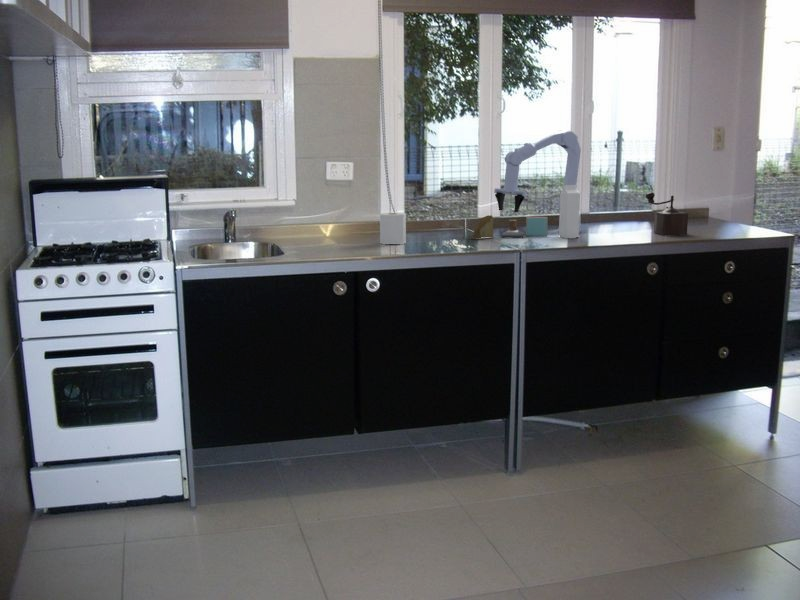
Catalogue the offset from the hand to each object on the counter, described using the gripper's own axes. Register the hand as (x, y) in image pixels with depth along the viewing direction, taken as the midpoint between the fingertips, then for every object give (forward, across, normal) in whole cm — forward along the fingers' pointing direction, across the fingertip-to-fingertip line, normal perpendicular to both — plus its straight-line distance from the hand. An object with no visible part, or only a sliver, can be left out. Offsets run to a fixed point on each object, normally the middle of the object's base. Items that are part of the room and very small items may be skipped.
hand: (508, 211), depth 377 cm
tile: (+9, +14, +2) cm, 17 cm away
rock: (+12, -2, -18) cm, 21 cm away
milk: (+8, +28, +3) cm, 29 cm away
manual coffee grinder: (+5, +58, +34) cm, 68 cm away
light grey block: (+15, -25, -50) cm, 58 cm away
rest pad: (+10, +6, -5) cm, 13 cm away
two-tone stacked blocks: (+10, 0, +7) cm, 12 cm away
